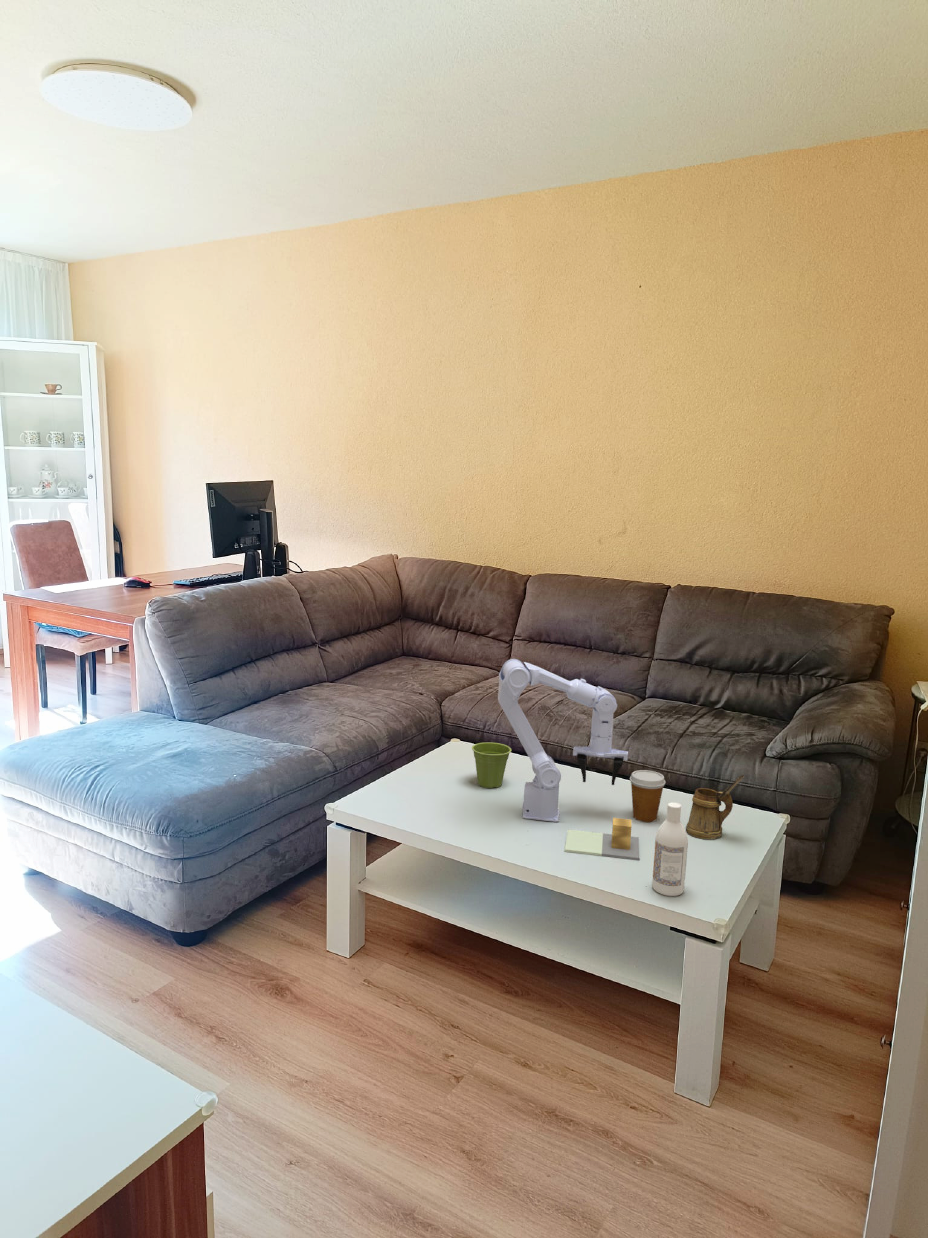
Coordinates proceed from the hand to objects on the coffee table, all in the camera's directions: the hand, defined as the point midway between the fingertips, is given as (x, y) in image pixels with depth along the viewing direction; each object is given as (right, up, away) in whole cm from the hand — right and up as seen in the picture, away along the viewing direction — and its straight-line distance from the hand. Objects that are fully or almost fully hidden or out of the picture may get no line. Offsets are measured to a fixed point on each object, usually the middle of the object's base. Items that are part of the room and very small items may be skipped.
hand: (598, 782), depth 218 cm
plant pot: (-29, -5, +22) cm, 37 cm away
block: (+3, -12, -18) cm, 22 cm away
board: (-2, -12, -17) cm, 21 cm away
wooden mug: (+28, -12, -9) cm, 32 cm away
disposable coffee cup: (+13, -10, +1) cm, 16 cm away
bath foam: (+9, -16, -38) cm, 43 cm away
